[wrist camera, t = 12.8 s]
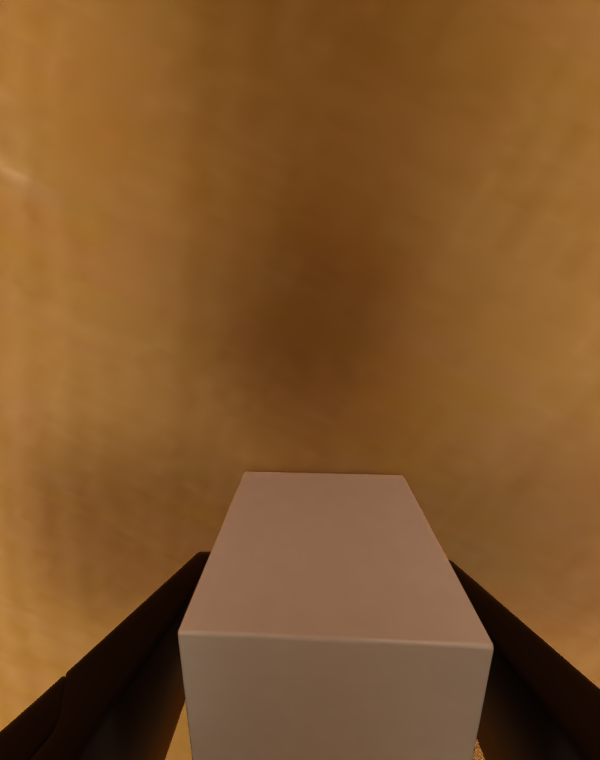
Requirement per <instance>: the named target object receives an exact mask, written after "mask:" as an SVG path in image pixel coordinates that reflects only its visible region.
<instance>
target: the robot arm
mask: <svg viewBox="0 0 600 760" xmlns="http://www.w3.org/2000/svg"><path fill="white" fill-rule="evenodd" d="M210 553H211V552H199V553H197V554H196V555H195V556H194V557H193V558H192V559H190V560H189V561H188V562H187V563H186V564H185V565H184V566H183V567H182V568H181V569H179V570H178V571H177V572H176V573H175V574H174V575H173V576H172V577H171V578H170V579H169V580H167V581H166V582H165V583H164V584H163V585H162V586H161V587H160V588H159V589H158V590H157V591H155V592H154V593H153V594H152V595H151V596H150V597H149V598H148V599H147V600H146V601H144V602H143V603H142V604H141V605H140V606H139V607H138V608H137V609H136V610H135V611H134V612H132V613H131V614H130V615H129V616H128V617H127V618H126V619H125V620H124V621H123V622H122V623H120V624H119V625H118V626H117V627H116V628H115V629H114V630H113V631H112V632H111V633H109V634H108V635H107V636H106V637H105V638H104V639H103V640H102V641H101V642H100V643H99V644H97V645H96V646H95V647H94V648H93V649H92V650H91V651H90V652H89V653H88V654H87V655H85V656H84V657H83V658H82V659H81V660H80V661H79V662H78V663H77V664H76V665H74V666H73V667H72V668H71V669H70V670H69V671H68V672H67V673H66V677H65V676H63V677H61V678H60V679H59V680H58V681H57V682H56V683H55V684H53V685H52V686H51V687H50V688H49V689H48V690H47V691H46V692H45V693H44V694H43V695H41V696H40V697H39V698H38V699H37V700H36V701H35V702H34V703H32V704H31V705H30V706H29V707H28V708H27V709H26V710H24V711H23V712H22V713H21V714H20V715H19V716H18V717H17V718H15V719H14V720H13V721H12V722H11V723H10V724H9V725H8V726H6V727H5V728H4V729H3V730H2V731H0V760H165V758H166V755H167V752H168V749H169V746H170V743H171V740H172V737H173V735H174V732H175V729H176V726H177V723H178V720H179V717H180V714H181V711H182V708H183V705H184V702H185V692H184V683H183V675H182V666H181V658H180V649H179V641H178V630H179V628H180V625H181V623H182V621H183V618H184V616H185V613H186V611H187V608H188V606H189V604H190V601H191V599H192V596H193V594H194V592H195V589H196V587H197V584H198V582H199V580H200V577H201V575H202V572H203V570H204V568H205V565H206V563H207V560H208V558H209V556H210ZM448 561H449V562H450V564H451V566H452V568H453V570H454V572H455V574H456V576H457V578H458V579H459V581H460V583H461V585H462V587H463V589H464V591H465V593H466V594H467V596H468V598H469V600H470V602H471V604H472V606H473V608H474V610H475V611H476V613H477V615H478V617H479V619H480V621H481V623H482V625H483V626H484V628H485V630H486V632H487V634H488V636H489V638H490V640H491V642H492V644H493V648H494V650H493V655H492V660H491V665H490V670H489V676H488V681H487V686H486V691H485V697H484V702H483V707H482V712H481V718H480V723H479V728H478V733H477V739H478V742H479V745H480V747H481V750H482V753H483V755H484V758H485V760H600V689H599V688H598V687H597V686H596V685H594V684H593V683H592V682H591V681H590V680H589V679H587V678H586V677H585V676H584V675H583V674H582V673H581V672H579V671H578V670H577V669H576V668H575V667H574V666H572V665H571V664H570V663H569V662H568V661H567V660H566V659H564V658H563V657H562V656H561V655H560V654H559V653H557V652H556V651H555V650H554V649H553V648H552V647H551V646H549V645H548V644H547V643H546V642H545V641H544V640H542V639H541V638H540V637H539V636H538V635H537V634H536V633H534V632H533V631H532V630H531V629H530V628H529V627H527V626H526V625H525V624H524V623H523V622H522V621H521V620H519V619H518V618H517V617H516V616H515V615H514V614H512V613H511V612H510V611H509V610H508V609H507V608H505V607H504V606H503V605H502V604H501V603H500V602H499V601H497V600H496V599H495V598H494V597H493V596H492V595H490V594H489V593H488V592H487V591H486V590H485V589H484V588H482V587H481V586H480V585H479V584H478V583H477V582H475V581H474V580H473V579H472V578H471V577H470V576H469V575H467V574H466V573H465V572H464V571H463V570H462V569H460V568H459V567H458V566H457V565H456V564H455V563H454V562H452V561H451V560H448Z"/></svg>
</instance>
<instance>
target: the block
mask: <svg viewBox="0 0 600 760" xmlns="http://www.w3.org/2000/svg"><path fill="white" fill-rule="evenodd" d="M178 641H179V649H180V658H181V666H182V675H183V683H184V692H185V700H186V709H187V717H188V726H189V734H190V743H191V751H192V760H472V759H473V754H474V749H475V744H476V738H477V733H478V728H479V723H480V718H481V712H482V707H483V702H484V697H485V691H486V686H487V681H488V676H489V670H490V665H491V660H492V655H493V650H494V648H493V644H492V642H491V640H490V638H489V636H488V634H487V632H486V630H485V628H484V626H483V625H482V623H481V621H480V619H479V617H478V615H477V613H476V611H475V610H474V608H473V606H472V604H471V602H470V600H469V598H468V596H467V594H466V593H465V591H464V589H463V587H462V585H461V583H460V581H459V579H458V578H457V576H456V574H455V572H454V570H453V568H452V566H451V564H450V562H449V561H448V559H447V557H446V555H445V553H444V551H443V549H442V547H441V545H440V544H439V542H438V540H437V538H436V536H435V534H434V532H433V530H432V529H431V527H430V525H429V523H428V521H427V519H426V517H425V515H424V513H423V512H422V510H421V508H420V506H419V504H418V502H417V500H416V498H415V497H414V495H413V493H412V491H411V489H410V487H409V485H408V483H407V481H406V480H405V478H404V476H403V475H379V474H334V473H289V472H244V474H243V476H242V478H241V481H240V483H239V486H238V488H237V491H236V493H235V495H234V498H233V500H232V503H231V505H230V507H229V510H228V512H227V515H226V517H225V519H224V522H223V524H222V527H221V529H220V531H219V534H218V536H217V539H216V541H215V543H214V546H213V548H212V551H211V553H210V556H209V558H208V560H207V563H206V565H205V568H204V570H203V572H202V575H201V577H200V580H199V582H198V584H197V587H196V589H195V592H194V594H193V596H192V599H191V601H190V604H189V606H188V608H187V611H186V613H185V616H184V618H183V621H182V623H181V625H180V628H179V630H178Z"/></svg>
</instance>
